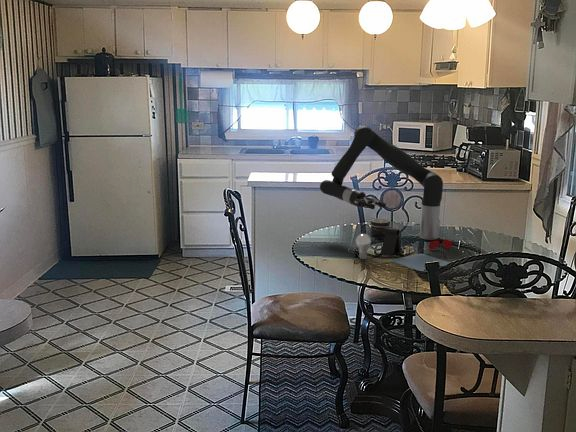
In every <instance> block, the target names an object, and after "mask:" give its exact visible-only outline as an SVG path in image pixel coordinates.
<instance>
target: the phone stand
mask: <svg viewBox="0 0 576 432" xmlns="http://www.w3.org/2000/svg"><path fill="white" fill-rule="evenodd" d="M400 234H401V231H400V229H399V228H395V227H394V228H393V227H388V228H386V229H385V237H383V241H382V244H381V248H380V254H381V255H383V256H388V257H394V256H396V255H400V254H402V252H403V250H402V243H401V238H400Z"/></svg>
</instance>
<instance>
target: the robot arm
mask: <svg viewBox="0 0 576 432" xmlns="http://www.w3.org/2000/svg"><path fill="white" fill-rule="evenodd" d="M353 134H354V135H353V139H352V142H351V144H350V146H349V147H348V149H347V151H346V152H345V153H344V154H343V156H342V157H341V158H340V159H339V160H338V162H337V163H336V165H335V166H334V167H333V170H332V172H331V177H333V179H332V181H331V180H328V179H324V180H323V181H321V183H320V184H319V190H320V191H321V192H322V194H324V195H328V196H329V197H330V196H331V197H333V198H336V199H338V200H341V201H343V202H345V203H347V204H350V205H352V206H355V207H357V208H366V209H367V208H368V209H370V210H375V208H376V207H380V208H383V209H385V208H387V207H386V206H387V204H386V203H385V202H383V201H382V199H378V198H375V197H369V196H367V195H366V193H365V192H364V191H362V190H358V189H355V188H351V187H348V186H345V185H343V183H344V179H346V177H347V175H348V173H349V172H350V170H351V169H352V168H353V165H354V164H355V162H356V160H358V158H359V156H360V155H361V154H362V153H363V151H364V150H365V149H366V148H367V147H368V148H369V149H371V150H372V151H374V152H375V153H377V155H378V156H379V157H380V158H382V160H384V162H386V163H387V164H389V165H390V166H392V167H393V169H394V168H395V169H396V170H397V171H400V172H401V173H403V174H405V175H407V176H410V177H411V178H412V179H414V180H415V181H416V182H418V183H419V185H421V186H422V187H423V194H422V195H423V197H422V199H421V207H420V222H419V223H420V225H419V236H418V237H419V238H420V239H422V240H428V241H436V240H439V239H438V238H440V230H441V229H440V228H441V227H440V226H441V219H440V214H441V213H440V212H441V202H442V198H443V189H444V181H443V179H442V177H441V176H440V175H439V174H437V173H436V172H433V171H431V170H429V169H427V168H426V167H424V166H423V165H421V164H420V163H418V161H416V160H415V159H414V158H413V156H411V155H410V154H408V153H407V152H405V151H404V150H403V149H401V148H400V147H398V146H397V145H394V143H391V142H389V141H387V140H385V139H384V138H382V137H381V136H380V135H378V134H377V133H376V132H375V131H373V130H372V128H371V127H369V126H368V125H365V124H364V125H363V124H362V125H359V126H357V128H356V129H355V130H354V133H353Z"/></svg>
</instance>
